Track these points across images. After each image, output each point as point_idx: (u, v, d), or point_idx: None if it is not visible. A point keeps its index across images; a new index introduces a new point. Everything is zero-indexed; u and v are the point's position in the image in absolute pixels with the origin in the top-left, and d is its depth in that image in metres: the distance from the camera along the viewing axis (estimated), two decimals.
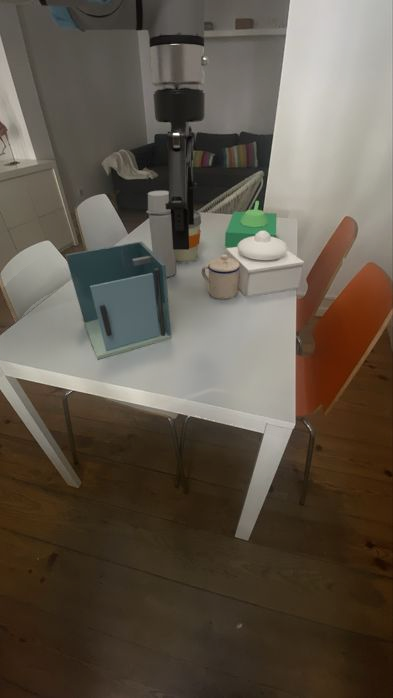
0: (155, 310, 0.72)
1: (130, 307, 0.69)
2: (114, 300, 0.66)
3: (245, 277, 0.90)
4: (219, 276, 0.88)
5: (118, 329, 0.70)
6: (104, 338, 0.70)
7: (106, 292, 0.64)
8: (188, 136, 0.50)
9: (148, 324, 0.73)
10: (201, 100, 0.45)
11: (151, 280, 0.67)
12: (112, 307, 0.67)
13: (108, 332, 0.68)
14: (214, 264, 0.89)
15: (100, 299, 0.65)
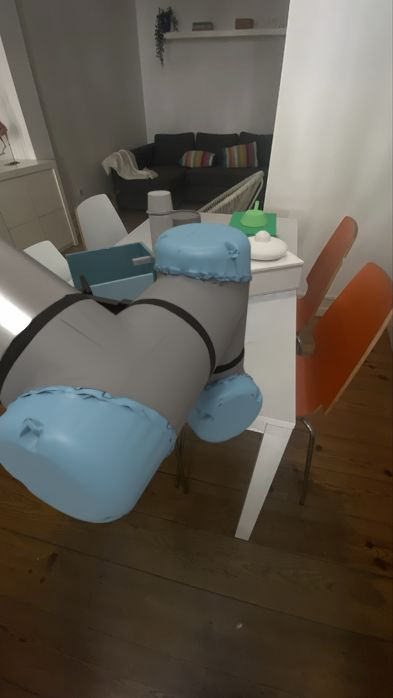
0: None
1: None
2: None
3: None
4: None
5: None
6: None
7: (106, 292, 0.64)
8: None
9: None
10: None
11: (151, 280, 0.67)
12: None
13: None
14: None
15: None
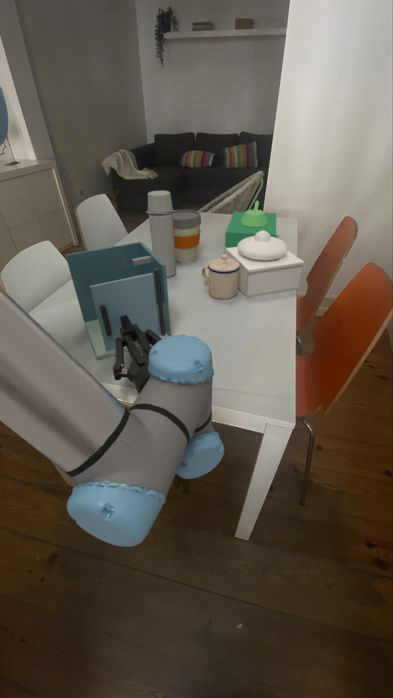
0: (155, 310, 0.72)
1: (130, 307, 0.69)
2: (114, 300, 0.66)
3: (245, 277, 0.90)
4: (219, 276, 0.88)
5: (118, 329, 0.70)
6: (104, 338, 0.70)
7: (106, 292, 0.64)
8: None
9: (148, 324, 0.73)
10: None
11: (151, 280, 0.67)
12: (112, 307, 0.67)
13: (108, 332, 0.68)
14: (214, 264, 0.89)
15: (100, 299, 0.65)
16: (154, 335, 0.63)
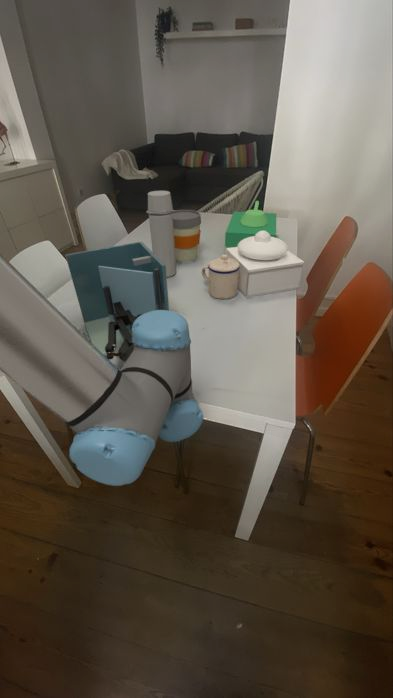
0: (154, 309, 0.72)
1: (131, 297, 0.72)
2: (117, 285, 0.71)
3: (245, 277, 0.90)
4: (219, 276, 0.88)
5: None
6: (109, 315, 0.78)
7: (110, 276, 0.70)
8: None
9: None
10: None
11: (150, 279, 0.68)
12: (115, 291, 0.73)
13: (109, 311, 0.75)
14: (214, 264, 0.89)
15: (106, 280, 0.72)
16: None
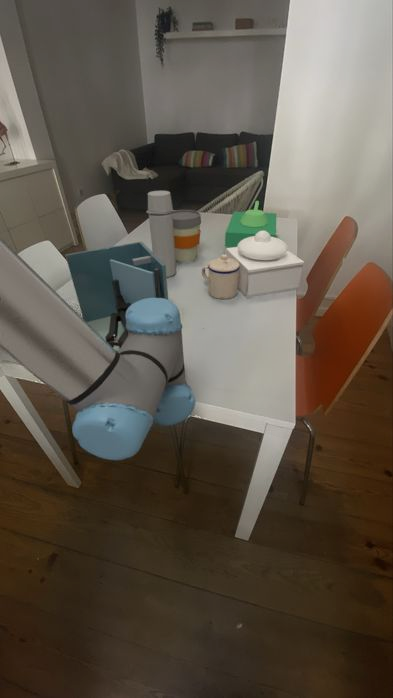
0: None
1: (135, 293, 0.74)
2: (124, 280, 0.73)
3: (245, 277, 0.90)
4: (219, 276, 0.88)
5: None
6: None
7: (119, 270, 0.73)
8: None
9: None
10: None
11: (150, 279, 0.68)
12: (123, 285, 0.75)
13: (117, 304, 0.78)
14: (214, 264, 0.89)
15: (115, 274, 0.74)
16: None
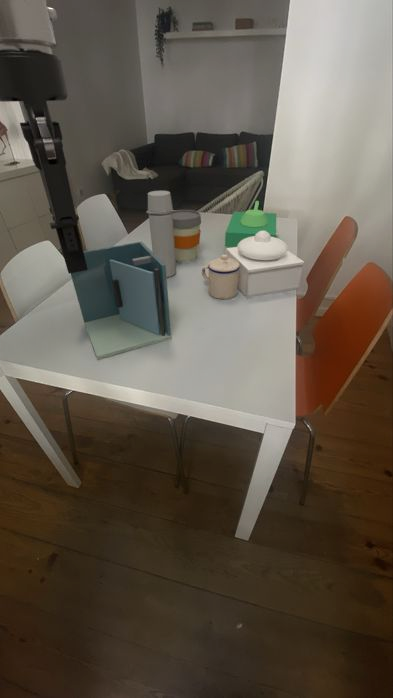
0: (154, 309, 0.72)
1: (135, 293, 0.74)
2: (124, 280, 0.73)
3: (245, 277, 0.90)
4: (219, 276, 0.88)
5: (128, 307, 0.78)
6: (119, 308, 0.80)
7: (119, 270, 0.73)
8: None
9: (149, 318, 0.75)
10: (60, 70, 0.33)
11: (150, 279, 0.68)
12: (123, 285, 0.75)
13: (117, 304, 0.78)
14: (214, 264, 0.89)
15: (115, 274, 0.74)
16: None
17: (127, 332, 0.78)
